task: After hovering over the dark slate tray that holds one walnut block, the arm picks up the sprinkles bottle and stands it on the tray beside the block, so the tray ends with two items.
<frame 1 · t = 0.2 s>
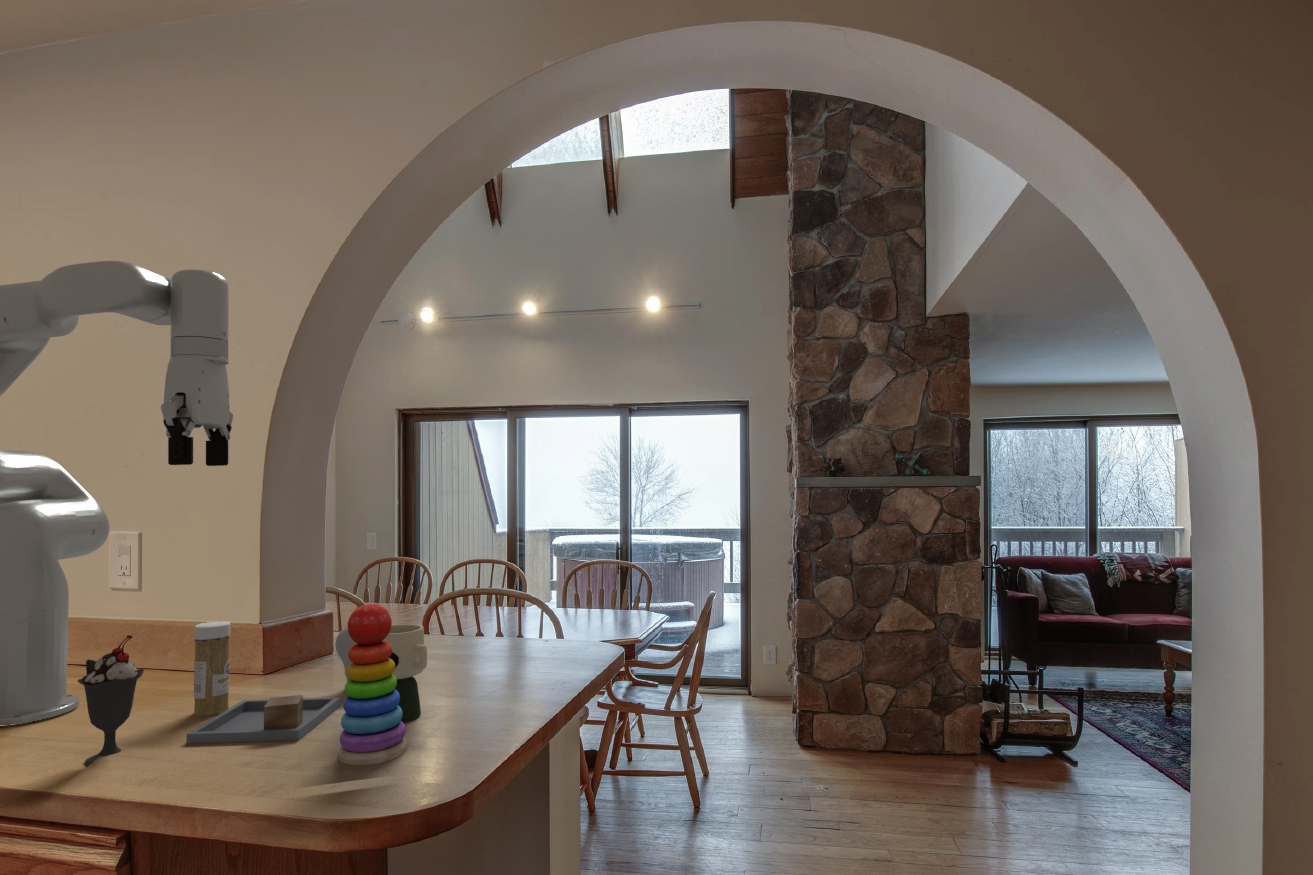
hand: (199, 465, 110), 37 cm above the kitchen counter, tool pointing down, fingers open, 9 cm apart
lightbulb: (355, 694, 116), on the kitchen counter
sundae: (109, 759, 90), on the kitchen counter
stacking toy: (373, 760, 89), on the kitchen counter
walnut block: (283, 731, 97), point 1 cm above the kitchen counter, touching slate tray
slate tray: (269, 728, 100), on the kitchen counter
character mug: (397, 724, 102), on the kitchen counter
sprinkles bottle: (211, 718, 105), on the kitchen counter
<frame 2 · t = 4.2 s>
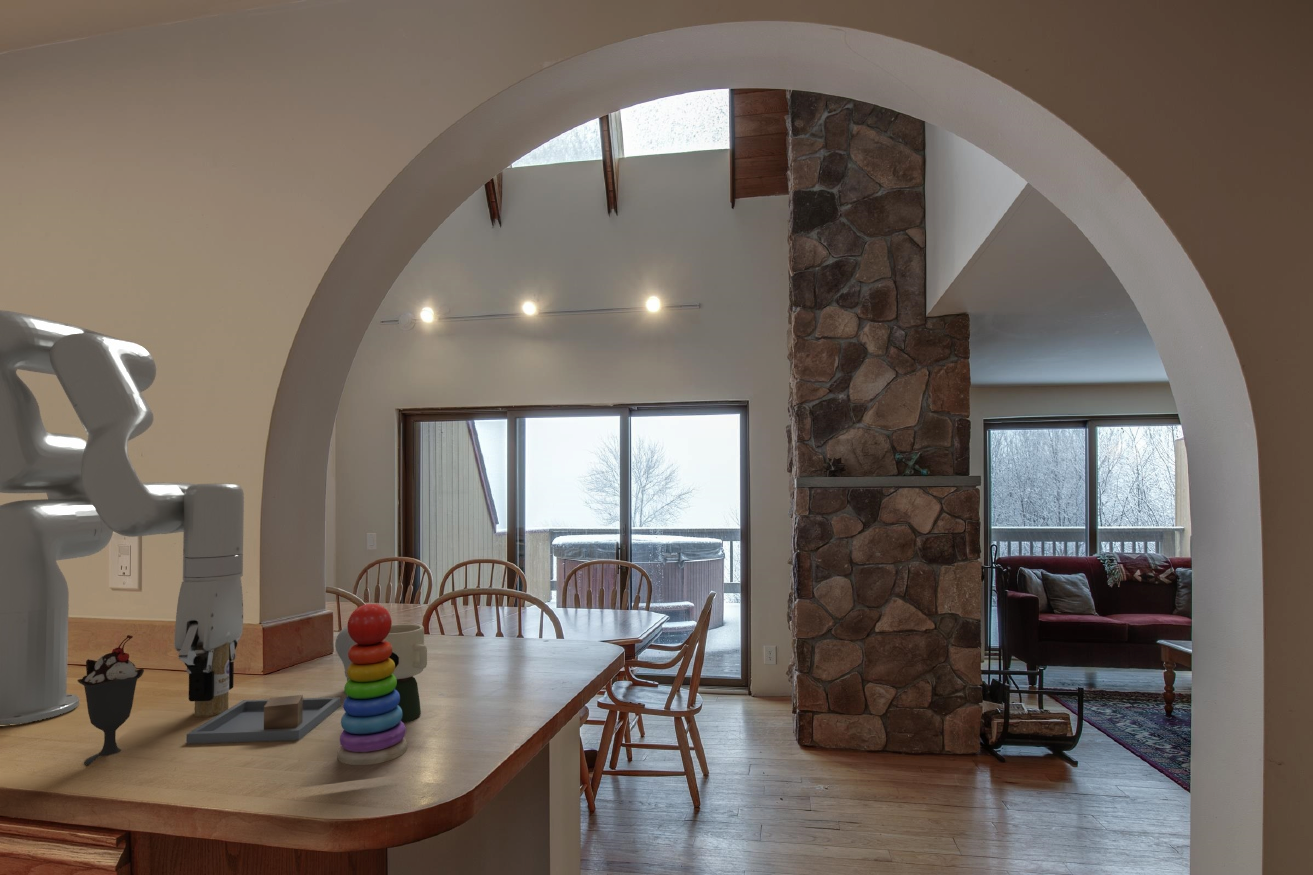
hand: (211, 693, 106), 3 cm above the kitchen counter, tool pointing down, fingers closed on sprinkles bottle, 4 cm apart
sprinkles bottle: (211, 718, 105), on the kitchen counter, touching gripper
everything else where it was.
when the fingers open (6 cm above the kitchen counter, at t = 9.1 s): sprinkles bottle drops 1 cm, resting on slate tray.
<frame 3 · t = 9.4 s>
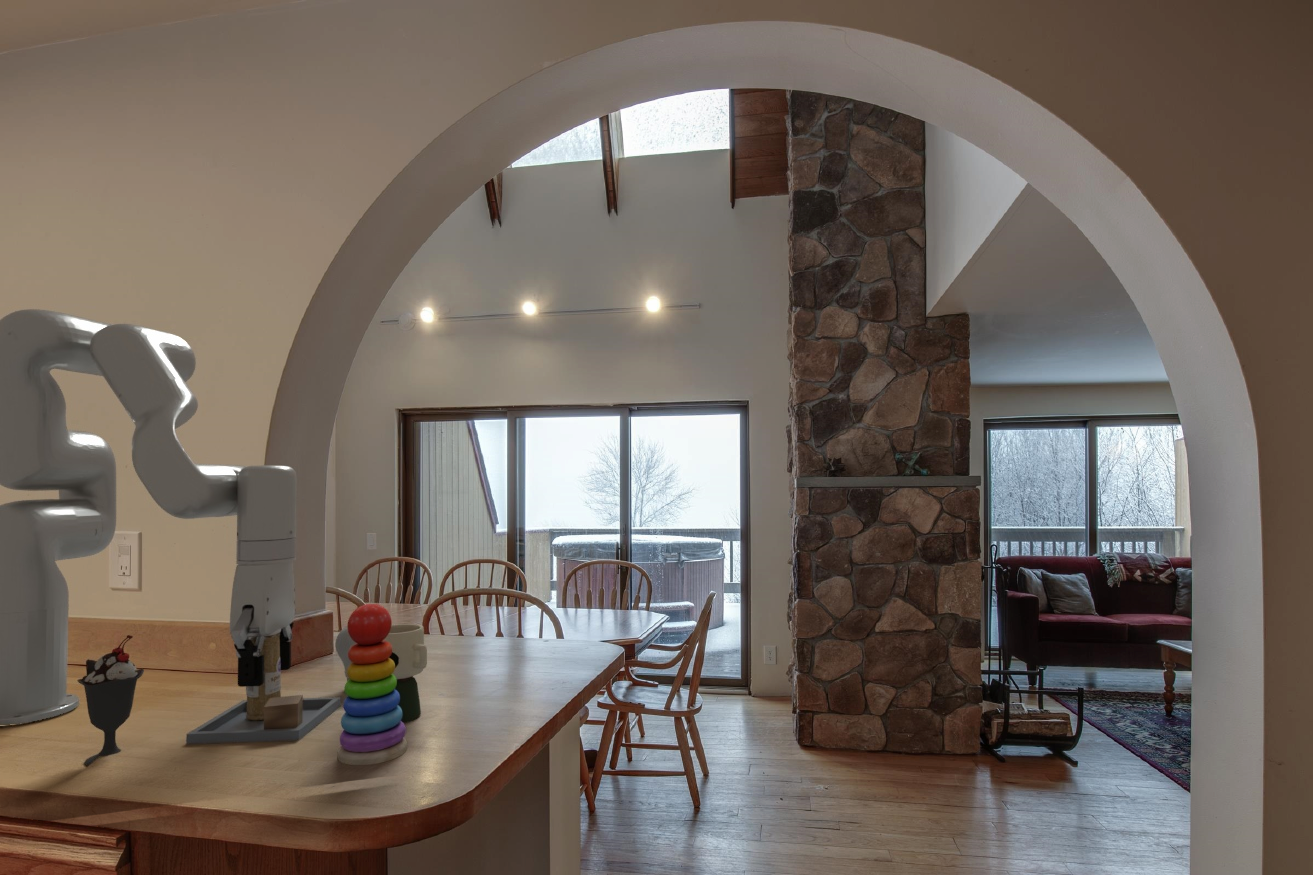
hand: (265, 676, 103), 6 cm above the kitchen counter, tool pointing down, fingers open, 7 cm apart
sprinkles bottle: (263, 717, 103), point 1 cm above the kitchen counter, touching slate tray
everything else where it was.
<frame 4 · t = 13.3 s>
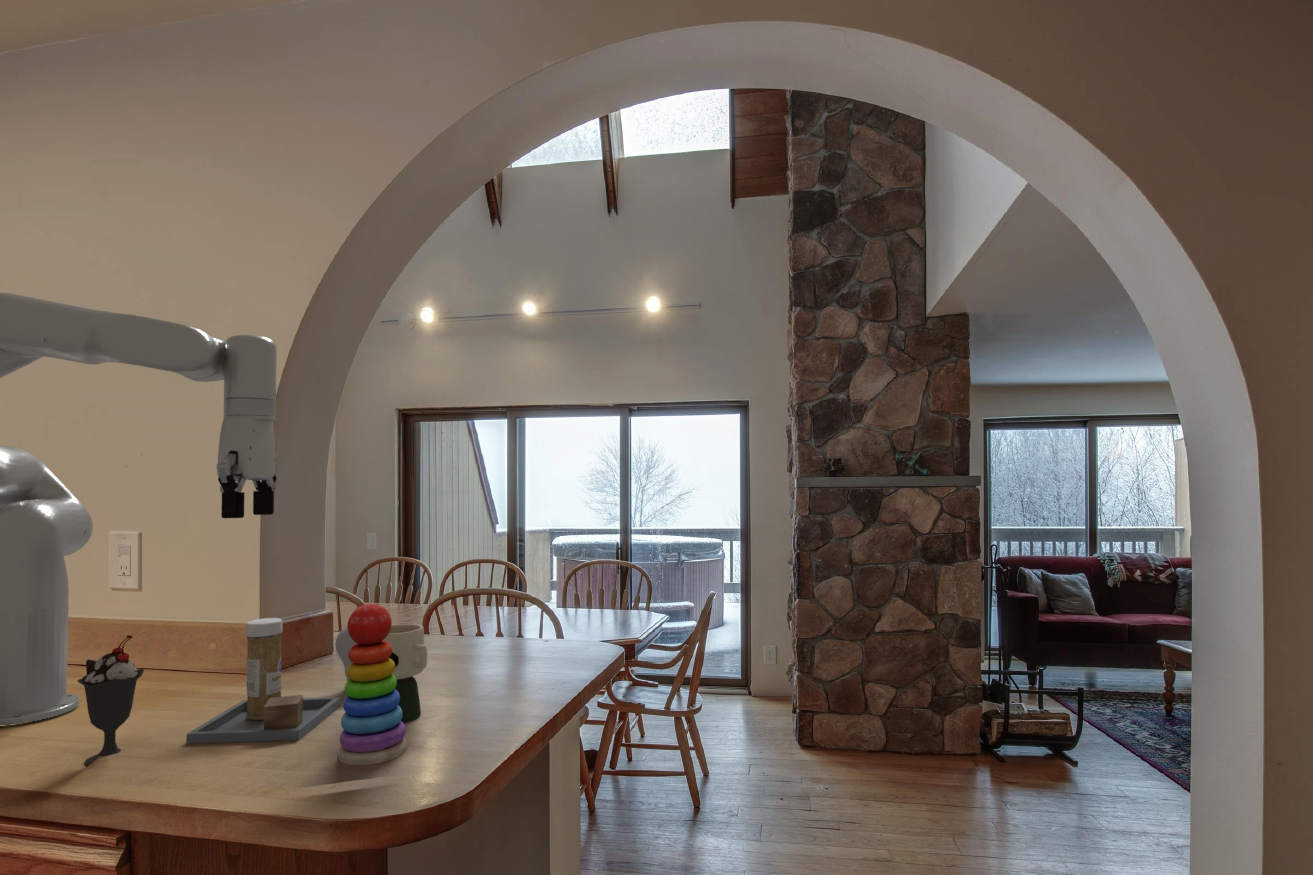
hand: (248, 516, 119), 28 cm above the kitchen counter, tool pointing down, fingers open, 9 cm apart
nothing on the kitchen counter moved.
at the end: sprinkles bottle inside the target area on the slate tray (3.8 cm from its centre), point 0.6 cm above the slate tray's base; sprinkles bottle tilted 1°; walnut block inside the target area on the slate tray (4.9 cm from its centre), point 0.8 cm above the slate tray's base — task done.
